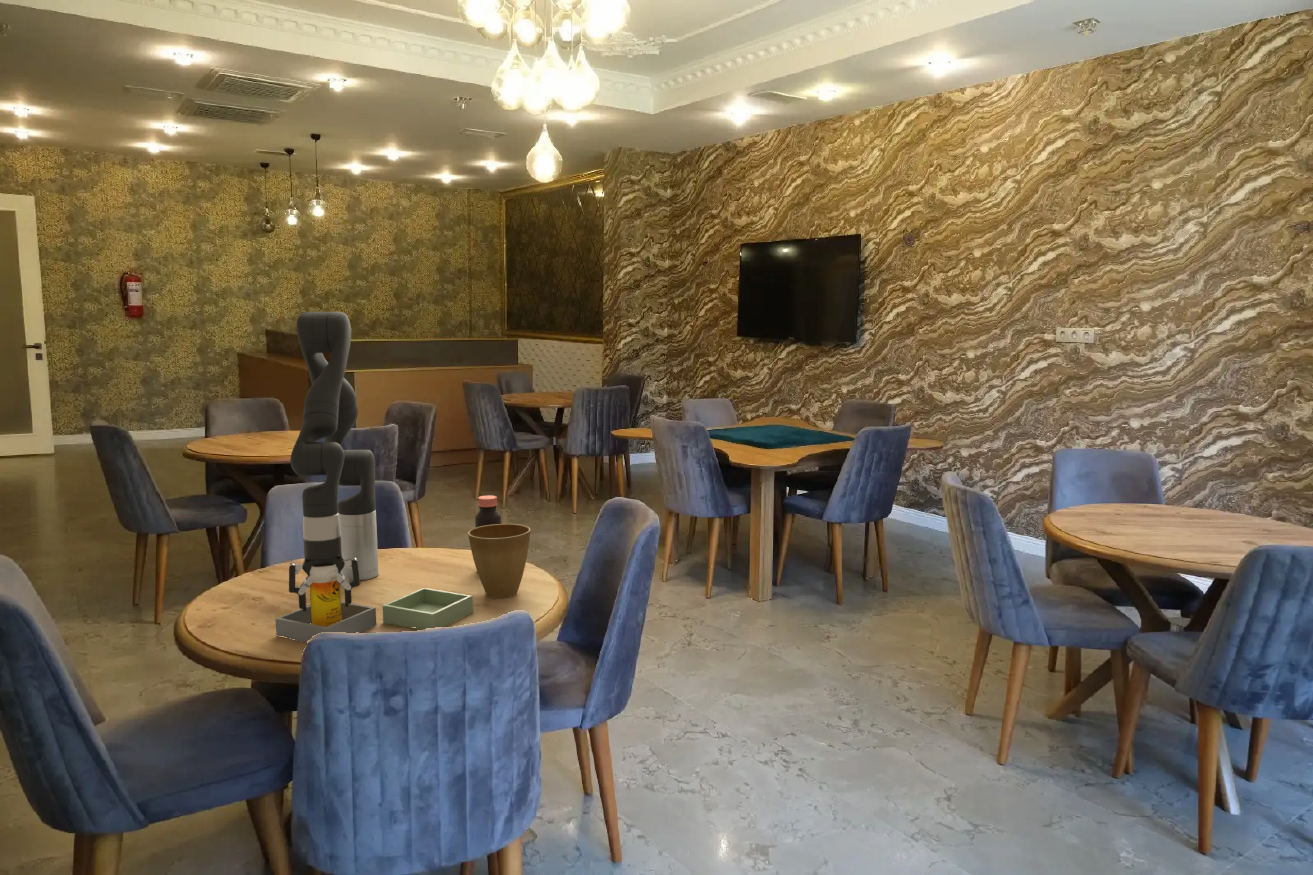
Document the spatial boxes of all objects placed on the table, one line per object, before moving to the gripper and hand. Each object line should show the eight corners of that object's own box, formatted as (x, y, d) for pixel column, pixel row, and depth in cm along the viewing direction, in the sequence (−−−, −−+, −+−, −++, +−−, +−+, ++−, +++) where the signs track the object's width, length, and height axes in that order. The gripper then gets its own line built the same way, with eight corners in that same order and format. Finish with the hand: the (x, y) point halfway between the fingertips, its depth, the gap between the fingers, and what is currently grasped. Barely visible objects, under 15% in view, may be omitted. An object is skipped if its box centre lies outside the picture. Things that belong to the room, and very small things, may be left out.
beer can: (332, 636, 190) (328, 568, 187) (306, 634, 191) (302, 566, 189) (347, 627, 195) (344, 560, 193) (322, 625, 197) (318, 559, 195)
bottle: (472, 573, 235) (470, 499, 232) (483, 566, 242) (481, 494, 239) (496, 575, 234) (494, 500, 231) (506, 568, 240) (504, 495, 237)
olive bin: (383, 622, 198) (382, 605, 198) (424, 604, 211) (423, 587, 210) (433, 632, 192) (433, 614, 192) (473, 612, 205) (472, 595, 204)
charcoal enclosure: (276, 636, 190) (275, 618, 189) (327, 615, 203) (326, 598, 202) (327, 647, 184) (326, 628, 183) (376, 625, 197) (375, 607, 196)
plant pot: (534, 584, 226) (533, 522, 224) (528, 603, 211) (526, 537, 209) (475, 584, 225) (473, 523, 223) (464, 604, 211) (462, 538, 208)
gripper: (285, 542, 184) (289, 617, 186) (357, 536, 189) (361, 609, 191) (286, 533, 191) (291, 606, 193) (356, 528, 196) (360, 599, 198)
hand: (326, 608), depth 192 cm, fingers open, 8 cm apart
